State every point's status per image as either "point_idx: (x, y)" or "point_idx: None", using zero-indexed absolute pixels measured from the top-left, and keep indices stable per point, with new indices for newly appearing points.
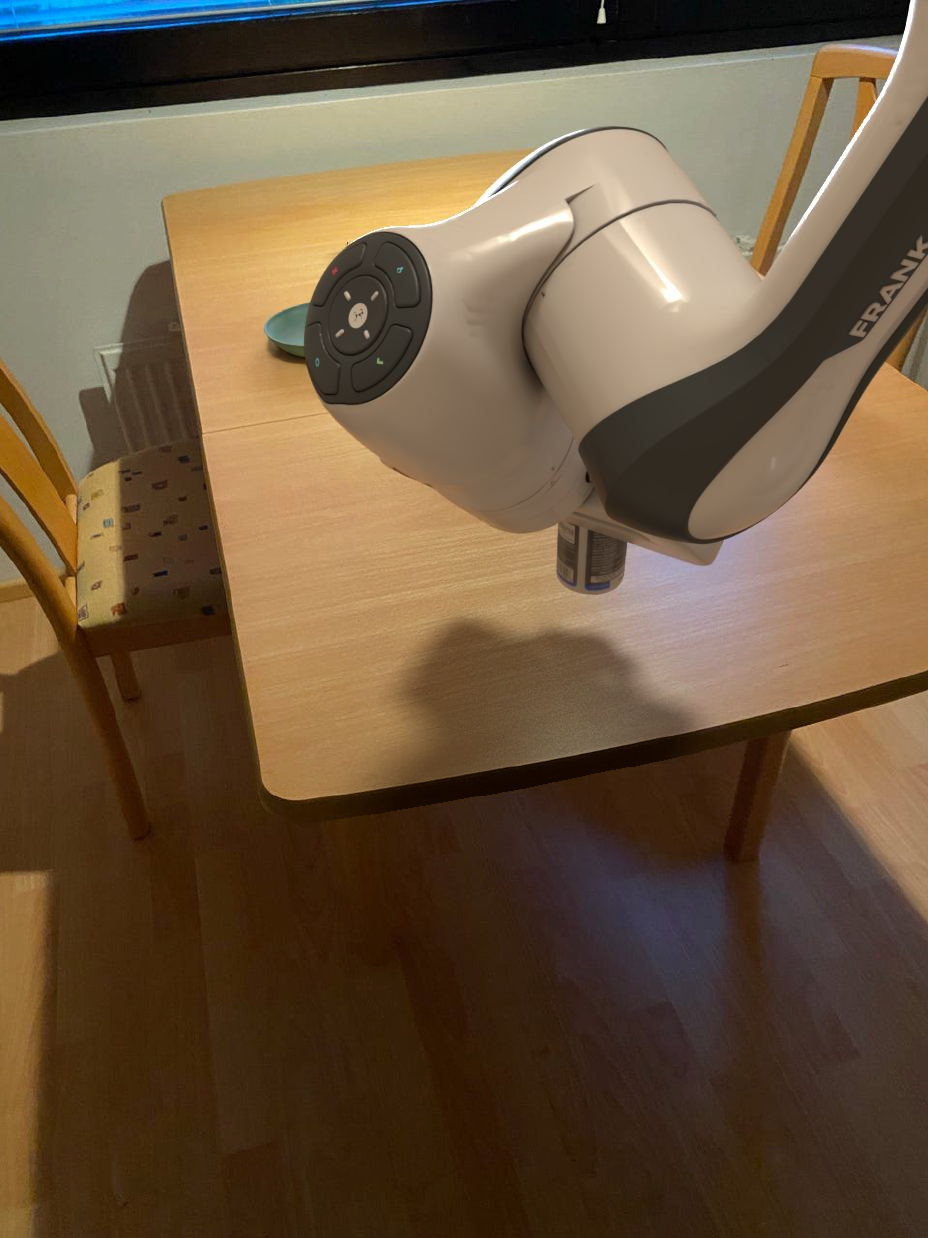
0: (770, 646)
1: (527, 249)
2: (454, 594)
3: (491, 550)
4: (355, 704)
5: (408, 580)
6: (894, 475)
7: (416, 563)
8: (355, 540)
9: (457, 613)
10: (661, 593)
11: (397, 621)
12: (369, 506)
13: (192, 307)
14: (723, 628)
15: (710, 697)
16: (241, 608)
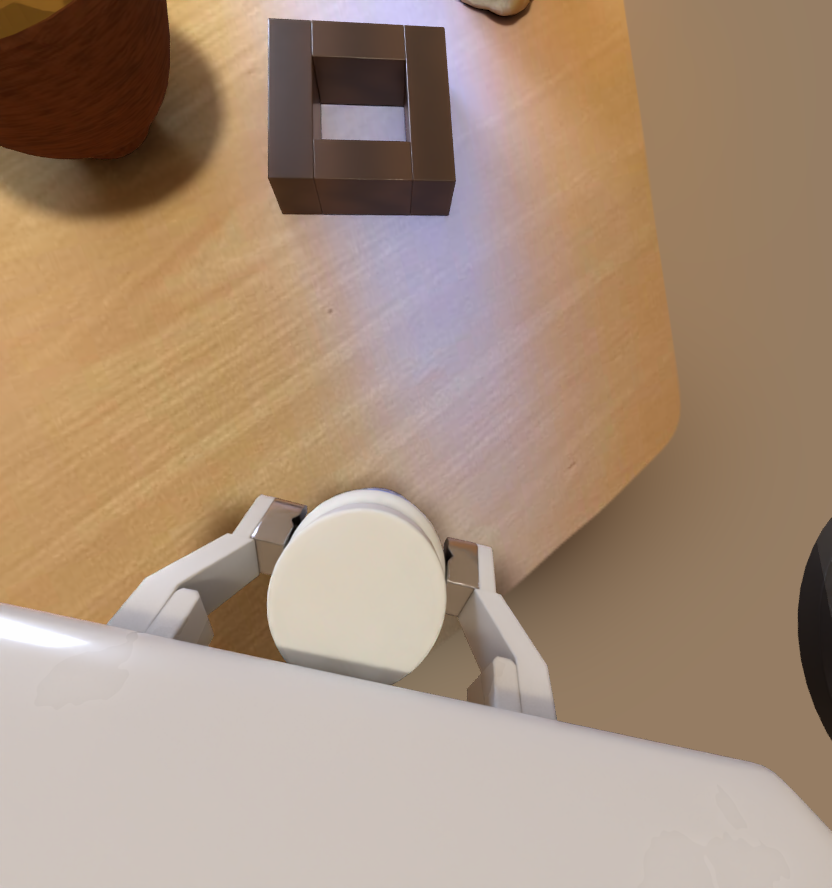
0: (554, 440)
1: None
2: (196, 470)
3: (212, 372)
4: None
5: (127, 463)
6: (615, 107)
7: (124, 427)
8: (20, 406)
9: (212, 503)
10: (429, 390)
11: (144, 543)
12: (9, 327)
13: None
14: (504, 427)
15: (517, 538)
16: None
